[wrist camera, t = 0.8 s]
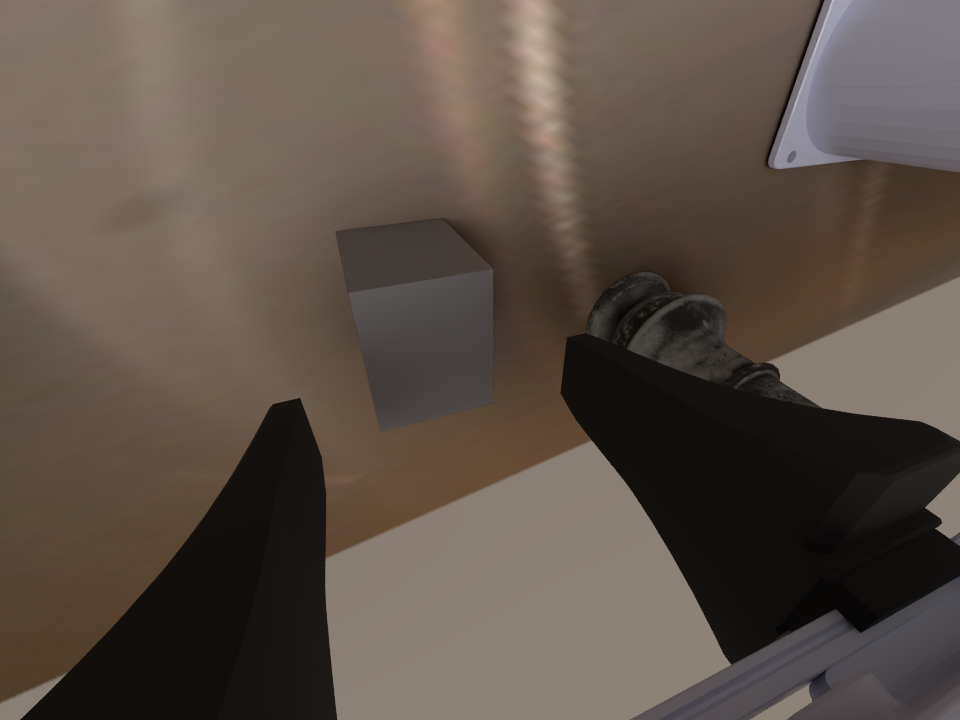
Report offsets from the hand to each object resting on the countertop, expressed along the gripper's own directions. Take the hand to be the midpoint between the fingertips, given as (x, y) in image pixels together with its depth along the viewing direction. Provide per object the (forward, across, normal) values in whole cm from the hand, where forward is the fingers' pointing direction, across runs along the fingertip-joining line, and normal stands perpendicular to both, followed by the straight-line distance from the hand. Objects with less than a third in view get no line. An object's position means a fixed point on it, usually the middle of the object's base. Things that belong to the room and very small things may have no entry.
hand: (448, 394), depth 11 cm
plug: (+7, 0, 0) cm, 7 cm away
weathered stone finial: (+8, -12, +4) cm, 15 cm away
